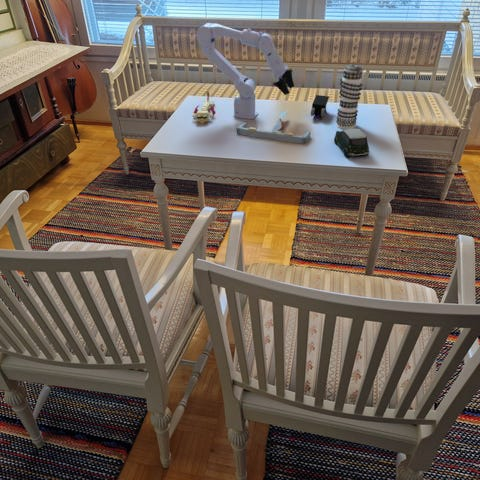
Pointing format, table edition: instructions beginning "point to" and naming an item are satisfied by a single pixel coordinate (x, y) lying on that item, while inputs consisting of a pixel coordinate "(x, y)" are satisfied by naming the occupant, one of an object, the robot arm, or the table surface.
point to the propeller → (279, 122)
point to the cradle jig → (272, 134)
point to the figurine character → (319, 106)
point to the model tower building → (349, 96)
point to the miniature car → (352, 142)
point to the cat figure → (204, 111)
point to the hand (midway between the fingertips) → (289, 90)
